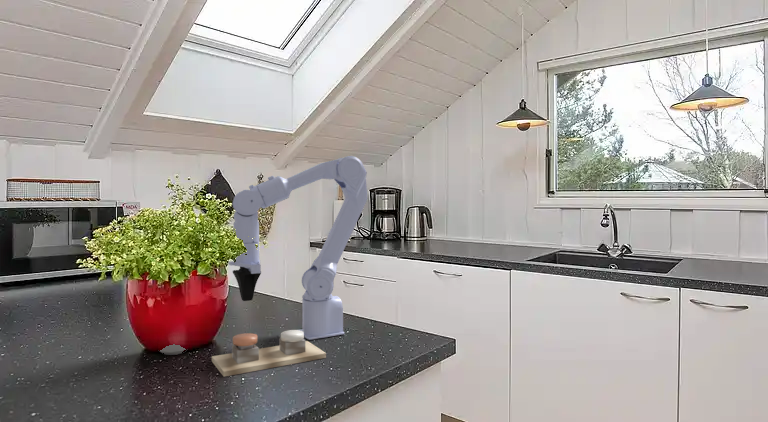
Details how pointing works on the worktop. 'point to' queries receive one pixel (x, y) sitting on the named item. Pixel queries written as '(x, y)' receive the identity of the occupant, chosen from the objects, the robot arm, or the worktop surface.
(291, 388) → the worktop surface
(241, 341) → the peach round domed part
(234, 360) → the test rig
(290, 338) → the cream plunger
